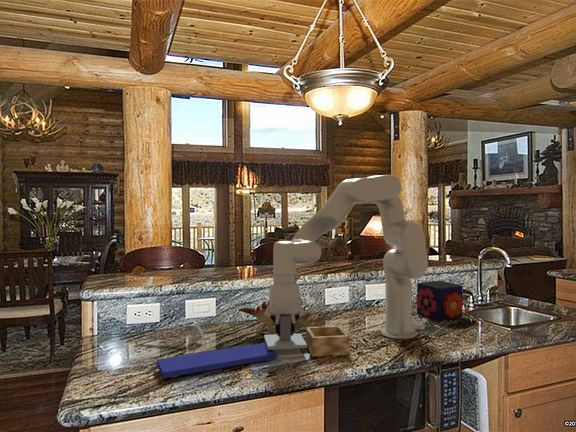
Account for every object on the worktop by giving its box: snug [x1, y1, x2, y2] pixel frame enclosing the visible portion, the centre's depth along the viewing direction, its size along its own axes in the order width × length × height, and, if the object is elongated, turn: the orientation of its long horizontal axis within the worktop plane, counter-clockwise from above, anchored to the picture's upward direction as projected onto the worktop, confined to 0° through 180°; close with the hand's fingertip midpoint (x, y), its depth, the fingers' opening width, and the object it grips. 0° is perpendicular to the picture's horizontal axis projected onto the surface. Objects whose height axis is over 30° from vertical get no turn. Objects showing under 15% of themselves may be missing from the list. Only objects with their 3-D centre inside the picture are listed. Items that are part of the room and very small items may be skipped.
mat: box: [273, 348, 304, 358], centre depth 144 cm, size 10×10×1 cm
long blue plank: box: [156, 342, 278, 379], centre depth 133 cm, size 34×3×10 cm
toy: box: [239, 300, 327, 335], centre depth 162 cm, size 9×32×15 cm, turn 79°
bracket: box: [134, 323, 205, 346], centre depth 152 cm, size 3×21×10 cm, turn 94°
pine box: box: [305, 325, 350, 358], centre depth 146 cm, size 12×12×6 cm
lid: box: [263, 314, 308, 350], centre depth 144 cm, size 12×12×9 cm
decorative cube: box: [415, 280, 464, 321], centre depth 189 cm, size 16×16×14 cm
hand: (284, 334), depth 144 cm, fingers closed on lid, 3 cm apart
